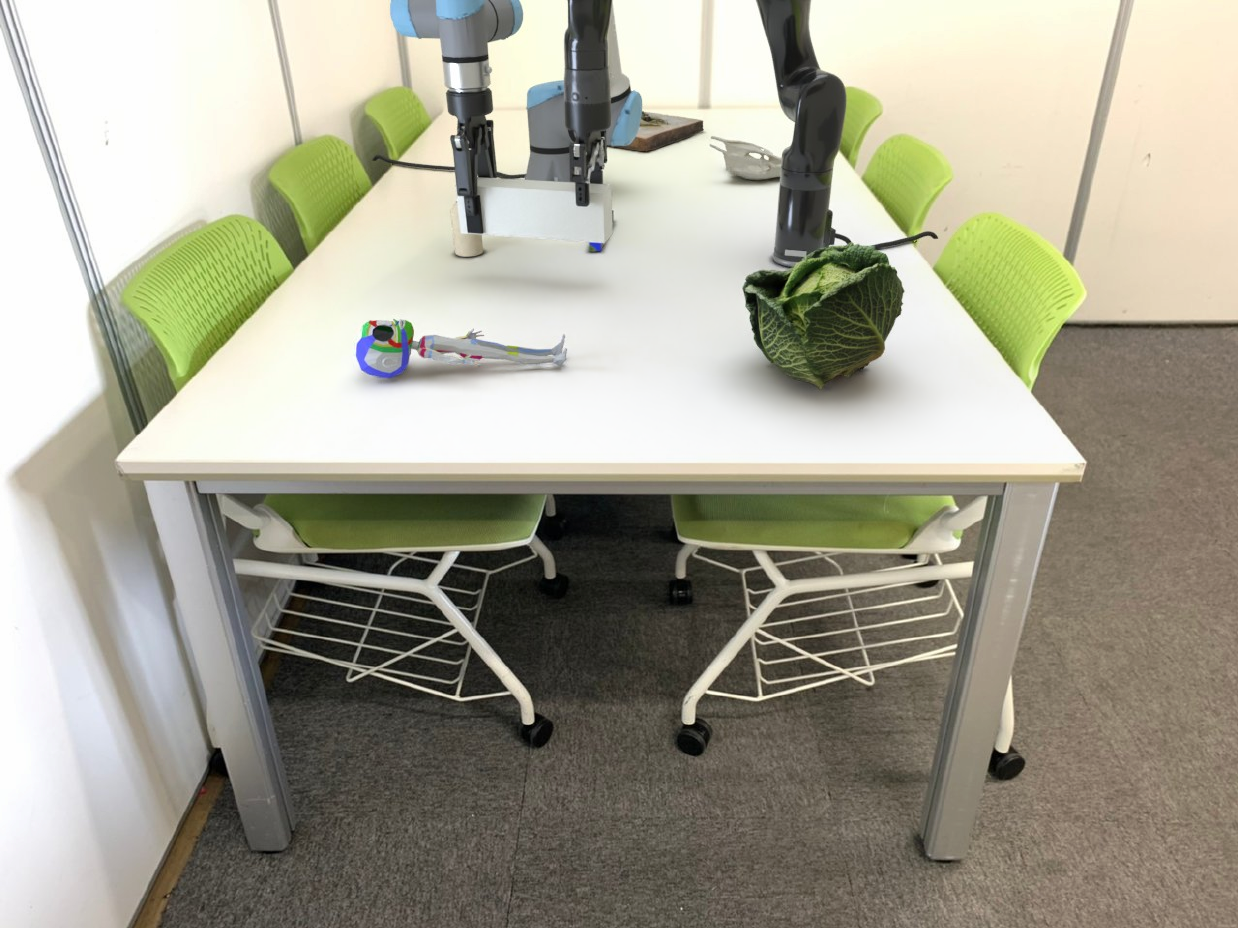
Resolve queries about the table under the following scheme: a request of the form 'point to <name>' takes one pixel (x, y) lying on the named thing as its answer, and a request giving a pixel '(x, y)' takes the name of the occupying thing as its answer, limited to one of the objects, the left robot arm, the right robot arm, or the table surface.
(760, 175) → the anatomical model
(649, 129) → the plaque
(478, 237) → the candle
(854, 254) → the vegetable
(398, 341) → the toy
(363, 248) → the table surface
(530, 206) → the bar
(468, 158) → the left robot arm
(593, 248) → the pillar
